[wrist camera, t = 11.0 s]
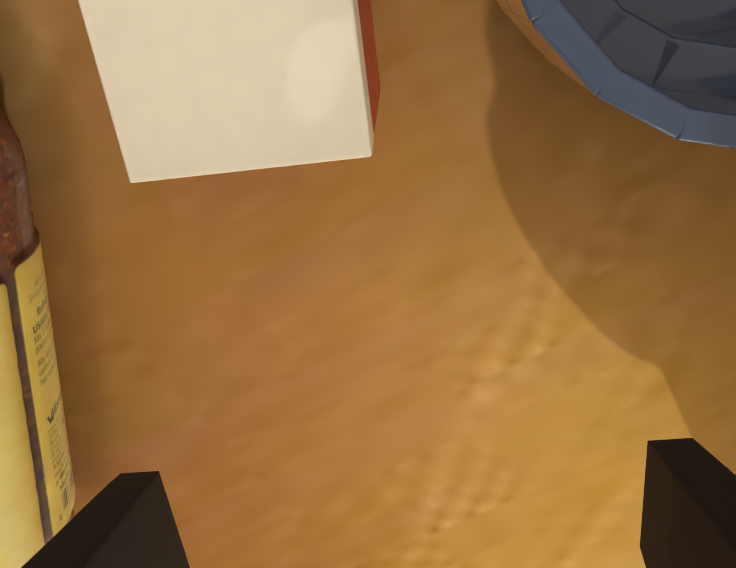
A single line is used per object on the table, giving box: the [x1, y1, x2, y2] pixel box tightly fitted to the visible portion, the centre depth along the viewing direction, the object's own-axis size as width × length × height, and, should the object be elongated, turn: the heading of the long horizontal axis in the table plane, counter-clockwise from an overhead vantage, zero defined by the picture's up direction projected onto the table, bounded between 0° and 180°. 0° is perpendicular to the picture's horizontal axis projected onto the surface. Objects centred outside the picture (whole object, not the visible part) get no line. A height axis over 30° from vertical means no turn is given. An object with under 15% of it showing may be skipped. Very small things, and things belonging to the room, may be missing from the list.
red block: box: [78, 0, 380, 183], centre depth 14 cm, size 4×4×6 cm
